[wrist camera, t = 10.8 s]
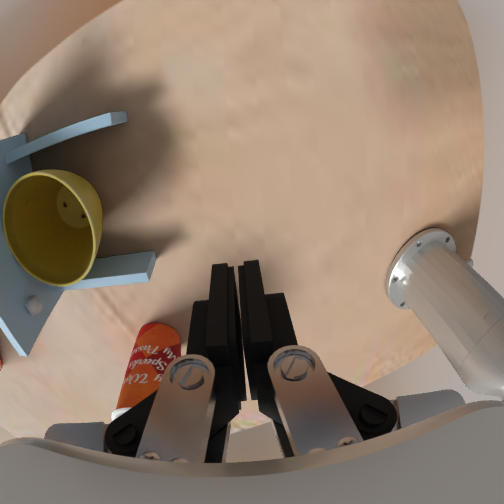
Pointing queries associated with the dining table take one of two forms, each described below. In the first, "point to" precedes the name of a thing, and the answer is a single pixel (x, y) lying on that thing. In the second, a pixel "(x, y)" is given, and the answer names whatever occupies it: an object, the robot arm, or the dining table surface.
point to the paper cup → (147, 364)
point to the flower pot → (53, 225)
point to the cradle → (18, 279)
